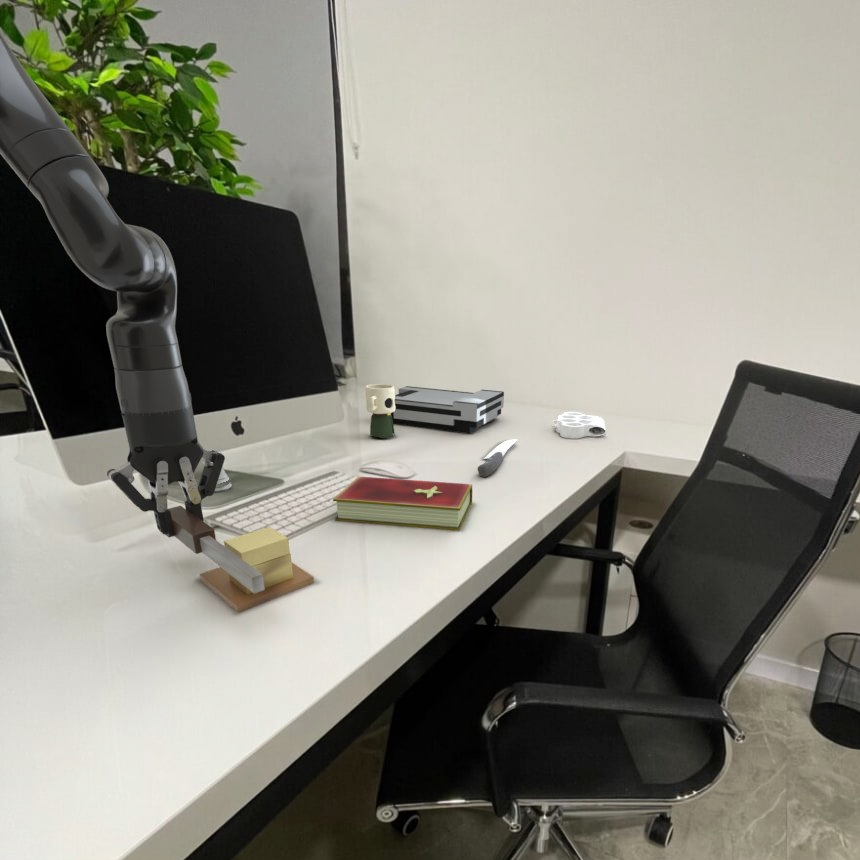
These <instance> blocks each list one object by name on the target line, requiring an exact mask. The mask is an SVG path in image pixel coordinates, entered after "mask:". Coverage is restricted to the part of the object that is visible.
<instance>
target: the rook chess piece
mask: <svg viewBox="0 0 860 860" xmlns="http://www.w3.org/2000/svg"><path fill="white" fill-rule="evenodd" d="M220 453H221V454H223V455H224V451H223V452H220ZM229 478H230V477H229V476H228V474H227V473H226V471H225V468H224V465H223V466H222V469H221V473H220V476H219V479H218V482H217V484H220V483H223V482H226V481H228V480H229ZM232 486H233V484H232V483H231V482H230V483H229V484H227V485H224V486H219V487H216V488H215V491H214V493H222V492H226V491H228V490H230V489H231V488H232Z"/></svg>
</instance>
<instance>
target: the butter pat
mask: <svg viewBox="0 0 860 860" xmlns="http://www.w3.org/2000/svg"><path fill="white" fill-rule="evenodd" d="M223 546H225V547H226V548H227V549H229V550H230V551H231V552H233V553H234V554H235V555H237V556H238V557H240V558H241V559H242V560H244V561H245V562H246V563H248V564H249V565H250V566H254V565H257V564H260V563H263V562H266V561H269V560H272V559H275V558H278V557H281V556H284V555H287V554H291V550H290V542H289V538H288V537H287V536H285V535H284V534H282V533H281V532H279V531H277V530H276V529H275V528H272V527H271V526H269V527H268V526H267V527H265V528H262V529H257V530H255V531H251V532H249V533H244V534H242V535H238V536H235V537H231V538H228V539H225V540H223Z"/></svg>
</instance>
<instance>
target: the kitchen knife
mask: <svg viewBox="0 0 860 860" xmlns="http://www.w3.org/2000/svg"><path fill="white" fill-rule="evenodd" d="M517 441H518V439H507V440H504V441H503V442H501V443H500V444H498V445H497V446H495V447H494V448H493V449H492V450H491V451H490V452H489V453H488V454H487V455H486V456H485V457H484V458H483V460H485V462H484V463H482V464H480V465H478V466H477V472H478V475H479V476H480V477H482V478H483V477H484V478H486V477H489V476H490V475H491V474H493V473H494V472H495V471H496V470H497V469H498V467H499V466H500V465H501V464H502V462H503V460H504V456H505V454H506V453H507V452H508V450H509V449H511V447H512V446H513V445H514V444H515V443H517Z"/></svg>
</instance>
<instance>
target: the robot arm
mask: <svg viewBox="0 0 860 860" xmlns="http://www.w3.org/2000/svg"><path fill="white" fill-rule="evenodd" d="M0 155H1V157H2V158H3V159H4V160H5V162H6V163H7V164H8V165H9V166H10V168H11V169H12V170H13V171H14V172H15V174H16V175H17V176H18V178H19V179H20V180H21V181H22V183H23V184H24V185H25V186H26V188H28V190H29V191H30V192H31V194H32V195H33V196H34V197H35V198H36V200H38V201H39V202H40V204H41V205H42V206H41V207H42V208H43V210H44V212H45V215H46V216H47V219H48V221H49V223H50V225H51V227H52V228H53V230H54V231H55V233H56V235H57V237H58V239H59V241H60V243H61V245H62V246H63V248H64V250H65V251H66V254H67V255H68V256H69V257H70V259H71V260H72V262H73V263H74V264H75V266H76V267H77V268H78V269H79V270H80V271H81V272H82V273H83V274H84V275H85V276H86V277H87V278H88V279H89V280H90V281H92V282H93V283H95V284H96V285H98V286H99V287H101V288H103V289H105V290H109V291H112V292H116V297H117V298H116V299H117V300H116V301H117V311H116V312H115V314H114V315H112V316H111V317H110V318H109V319H108V320H107V322H106V324H105V327H106V328H105V329H106V337H107V343H108V348H109V351H110V357H111V360H112V365H113V368H114V369H113V371H114V377H115V378H114V379H115V390H116V394H117V398H118V403H119V408H120V411H121V417H122V422H123V425H124V430H125V434H126V439H127V443H128V448H129V452H128V455H127V458H126V460H127V462H125V463H123V464H122V465H121V466H119V467H118V468H116V469H115V468H110V469H108V471H107V472H106V476H107V477H108V479H110V480H111V481H112V483H114V485H115V486H116V487H117V488H118V489H119V491H121V492H122V493H123V494H124V495H125V496H126V497H127V498H128V499H129V500H130V502H131V503H132V504H133V505H134V506H136V507H137V508H138V509H139V510H140V511H142V512H144V513H146V512H153V514H154V519H155V523H156V527H157V530H158V531H159V532H160V533H161V534H163V535H165V536H166V537H167V538H172V537H175V534H174V529H173V525H172V517H171V512H170V511H169V510H168V509H169V508H168V507H169V506H168V495H169V485H171V484H173V483H175V482H178V485H180V488H181V491H182V494H183V496H184V498H185V501H184V508H185V509H186V510H188V511H189V512H190V513H192V514H193V515H195V516H196V517H197V518H199V519H200V520H202V521H203V522H205V521H204V520H205V519H204V514H203V507H202V501H203V500H204V499H205V498H207V497H212V496H213V495H214V494H215V492H214V491H215V488H216V485H217V482H218V479H219V476H220V473H221V469H222V466H223V467H224V463H225V460H226V456H225V454H224V453H223V454H221V453H219V452H217V451H214V450H212V451H207V450H205V448H204V447H203V446H202V444H201V443H200V441H199V439H198V432H197V429H196V422H195V416H194V410H193V404H192V394H191V392H190V388H189V384H188V380H187V377H186V374H185V371H184V368H183V367H184V366H183V362H182V356H181V351H180V345H179V340H178V336H177V331H176V321H177V311H178V310H177V309H178V306H177V303H178V302H177V301H178V277H177V270H176V265H175V260H174V258H173V255H172V253H171V251H170V249H169V247H168V245H167V244H166V243H165V241H164V240H163V239H162V238H161V236H159V235H158V234H157V233H155V232H154V231H152V230H151V229H148V228H146V227H143V226H139V225H133V224H129V223H128V224H127V223H125V222H124V221H123V220H122V219H121V218H120V216H118V214H117V213H116V210H115V209H114V207H113V206H112V205H111V203H110V201H109V200H108V199H107V198H108V197H109V193H110V187H109V183H108V180H107V179H106V177H105V175H104V174H103V172H102V170H101V169H100V168H99V166H98V165H97V163H96V162H95V160H93V157H91V155H90V154H89V153H88V151H87V150H86V149H85V147H84V146H83V145H82V143H80V140H79V139H78V138H77V137H76V136H75V134H74V133H73V131H72V130H71V129H70V128H69V126H68V125H67V124H66V122H65V121H64V120H63V118H62V117H61V116H60V115H59V113H58V112H57V111H56V110H55V108H54V107H53V105H51V103H50V102H49V100H48V99H47V98H46V96H45V95H44V94H43V92H42V91H41V89H40V88H39V86H37V84H36V83H35V81H34V80H33V78H31V76H30V75H29V73H28V72H27V71H26V69H25V67H24V66H23V65H22V64H21V62H20V61H19V59H18V58H17V55H16V54H15V53H14V51H13V50H12V48H11V47H10V45H9V44H8V43H7V41H6V40H5V38H4V36H3V35H2V34H1V32H0ZM201 460H202V461H201ZM200 462H202V465H204V466H203V469H202V472H201V474H200V475H201V476H200V478H199V481H198V483H197V479H196V477H195V471H196V469H197V467H198V465H199V464H200ZM134 471H136V472H138V473H139V474H140V475H142V477H144V478H145V479H147V487H148V490H149V498H145V497H144V496H143V495H142V493H141V492H140V491H139V490H138V489H137V488H136V487H135V486H134V485H133V483H134V481H135V476H134Z"/></svg>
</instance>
